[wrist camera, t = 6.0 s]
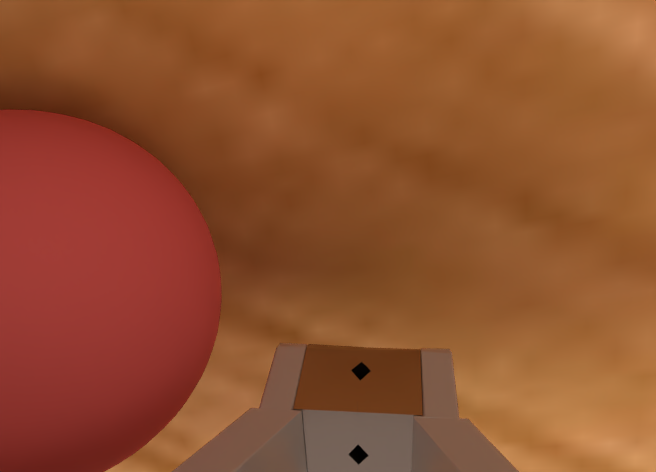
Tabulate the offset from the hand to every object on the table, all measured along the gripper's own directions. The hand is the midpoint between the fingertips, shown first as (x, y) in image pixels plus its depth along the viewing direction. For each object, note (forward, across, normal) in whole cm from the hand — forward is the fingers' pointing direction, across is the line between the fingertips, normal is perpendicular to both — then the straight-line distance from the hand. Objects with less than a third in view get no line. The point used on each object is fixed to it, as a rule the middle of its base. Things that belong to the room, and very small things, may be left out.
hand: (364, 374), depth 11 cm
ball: (-1, +5, -2) cm, 6 cm away
